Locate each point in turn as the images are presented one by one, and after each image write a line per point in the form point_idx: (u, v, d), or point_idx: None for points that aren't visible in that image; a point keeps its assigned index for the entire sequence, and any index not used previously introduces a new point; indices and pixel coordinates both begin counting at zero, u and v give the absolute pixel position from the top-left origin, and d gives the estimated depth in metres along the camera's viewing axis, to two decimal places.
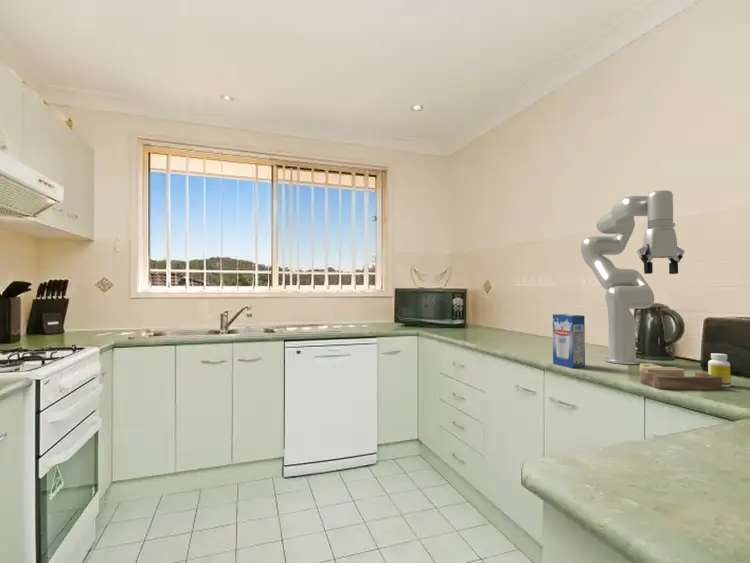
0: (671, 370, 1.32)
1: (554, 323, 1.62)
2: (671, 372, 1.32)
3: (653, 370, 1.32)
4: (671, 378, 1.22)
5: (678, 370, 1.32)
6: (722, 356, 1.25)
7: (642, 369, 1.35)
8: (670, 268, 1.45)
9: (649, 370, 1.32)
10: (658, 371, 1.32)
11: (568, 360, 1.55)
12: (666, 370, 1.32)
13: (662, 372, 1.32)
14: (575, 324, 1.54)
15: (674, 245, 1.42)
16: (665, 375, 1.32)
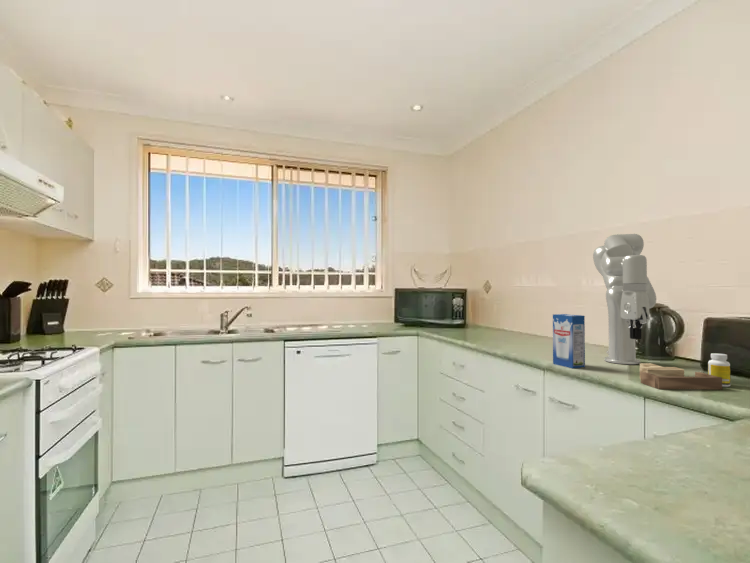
0: (671, 370, 1.32)
1: (554, 323, 1.62)
2: (671, 372, 1.32)
3: (653, 370, 1.32)
4: (671, 378, 1.22)
5: (678, 370, 1.32)
6: (722, 356, 1.25)
7: (642, 369, 1.35)
8: None
9: (649, 370, 1.32)
10: (658, 371, 1.32)
11: (568, 360, 1.55)
12: (666, 370, 1.32)
13: (662, 372, 1.32)
14: (575, 324, 1.54)
15: None
16: (665, 375, 1.32)
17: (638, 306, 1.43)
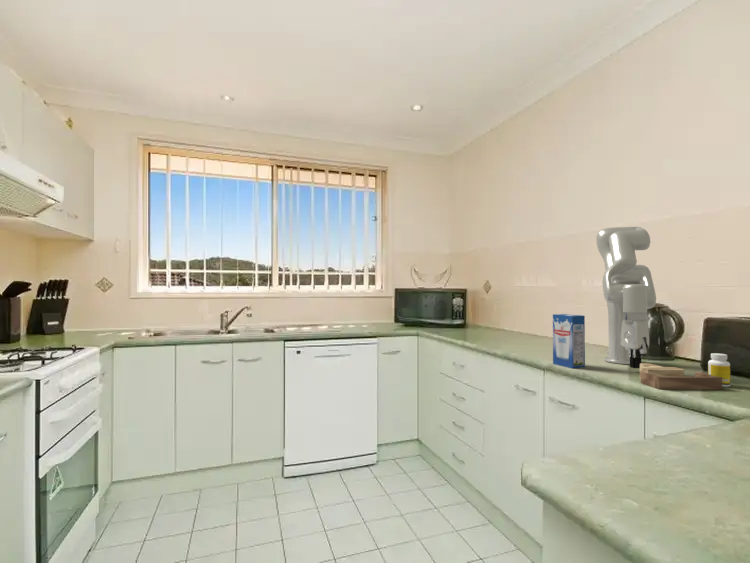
0: (671, 370, 1.32)
1: (554, 323, 1.62)
2: (671, 372, 1.32)
3: (653, 370, 1.32)
4: (671, 378, 1.22)
5: (678, 370, 1.32)
6: (722, 356, 1.25)
7: (642, 369, 1.35)
8: None
9: (649, 370, 1.32)
10: (658, 371, 1.32)
11: (568, 360, 1.55)
12: (666, 370, 1.32)
13: (662, 372, 1.32)
14: (575, 324, 1.54)
15: None
16: (665, 375, 1.32)
17: (638, 336, 1.43)
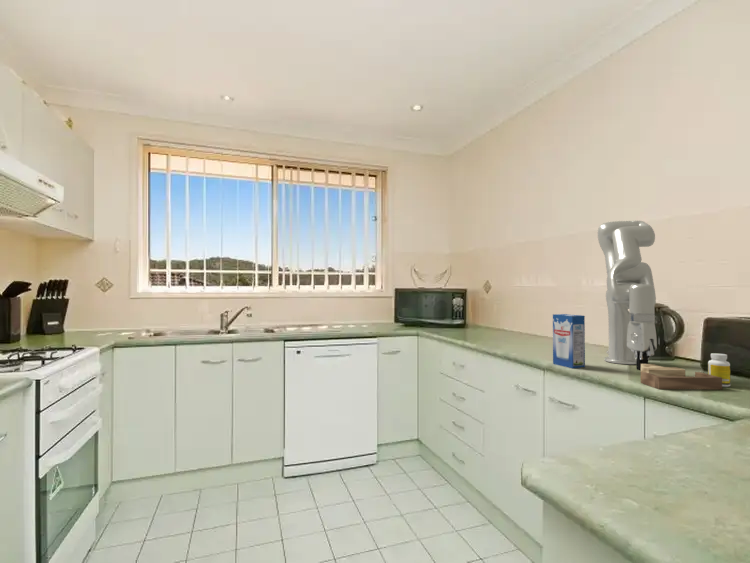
0: (672, 370, 1.32)
1: (554, 323, 1.62)
2: (672, 372, 1.32)
3: (654, 370, 1.32)
4: (671, 378, 1.22)
5: (679, 370, 1.32)
6: (722, 356, 1.25)
7: (643, 369, 1.34)
8: None
9: (650, 370, 1.32)
10: (659, 371, 1.32)
11: (568, 360, 1.55)
12: (667, 370, 1.32)
13: (663, 372, 1.32)
14: (575, 324, 1.54)
15: None
16: (666, 375, 1.32)
17: (645, 338, 1.39)
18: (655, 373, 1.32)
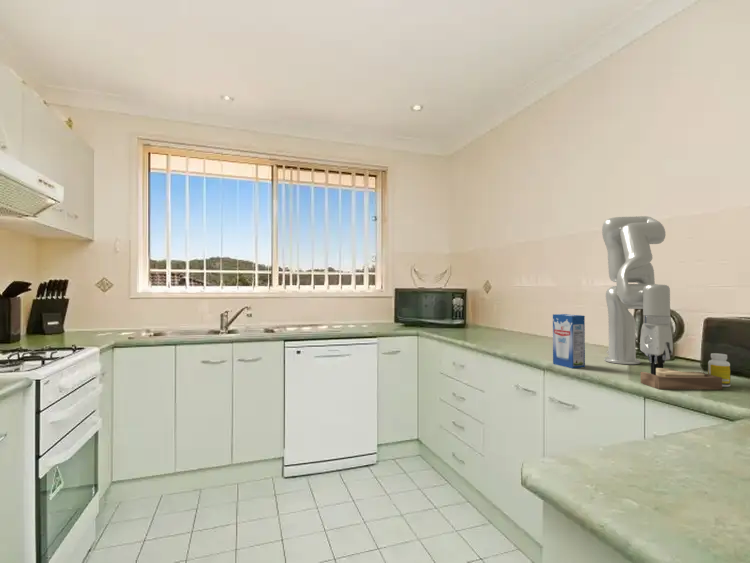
0: (690, 375, 1.24)
1: (554, 323, 1.62)
2: None
3: (671, 375, 1.24)
4: (671, 378, 1.22)
5: (698, 375, 1.24)
6: (722, 356, 1.25)
7: (659, 374, 1.27)
8: None
9: (667, 375, 1.24)
10: (676, 376, 1.24)
11: (568, 360, 1.55)
12: (685, 375, 1.24)
13: None
14: (575, 324, 1.54)
15: None
16: None
17: (661, 341, 1.32)
18: None
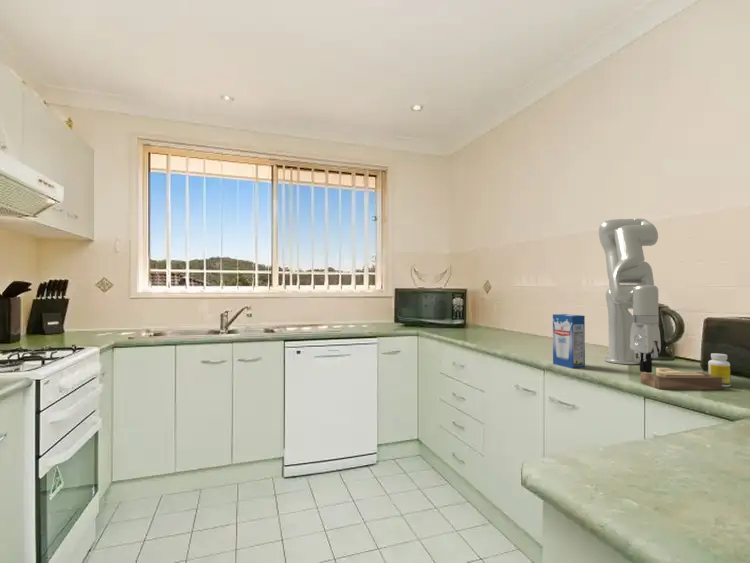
0: (691, 375, 1.24)
1: (554, 323, 1.62)
2: None
3: (671, 375, 1.24)
4: (671, 378, 1.22)
5: (698, 375, 1.24)
6: (722, 356, 1.25)
7: (659, 374, 1.27)
8: None
9: (667, 375, 1.24)
10: (677, 376, 1.24)
11: (568, 360, 1.55)
12: (685, 375, 1.24)
13: None
14: (575, 324, 1.54)
15: None
16: None
17: (649, 340, 1.37)
18: None
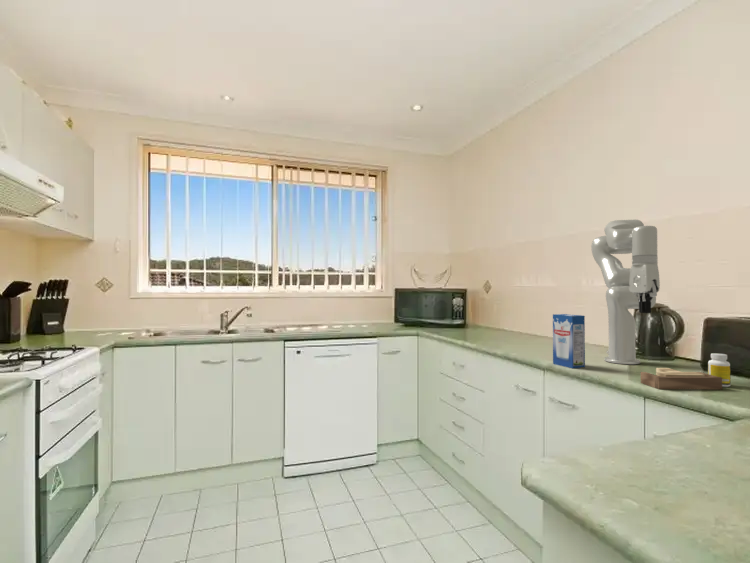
0: (691, 375, 1.24)
1: (554, 323, 1.62)
2: None
3: (671, 375, 1.24)
4: (671, 378, 1.22)
5: (698, 375, 1.24)
6: (722, 356, 1.25)
7: (659, 374, 1.27)
8: None
9: (667, 375, 1.24)
10: (677, 376, 1.24)
11: (568, 360, 1.55)
12: (685, 375, 1.24)
13: None
14: (575, 324, 1.54)
15: None
16: None
17: (648, 278, 1.38)
18: None
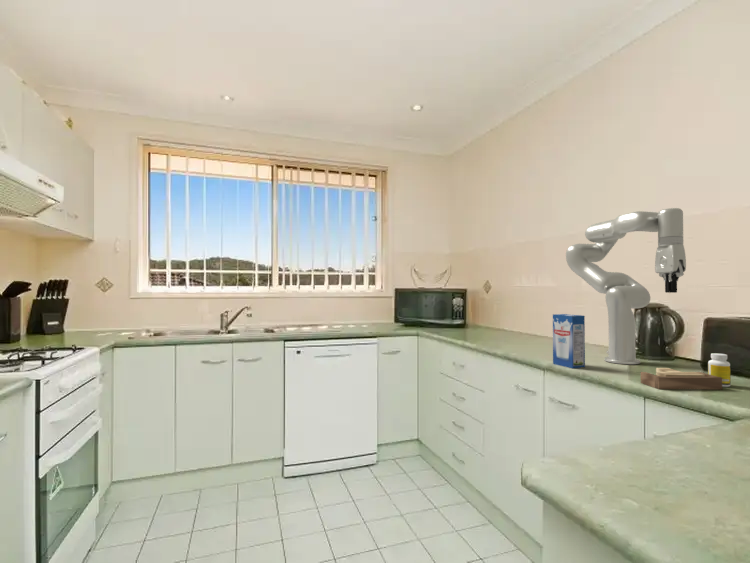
0: (691, 375, 1.24)
1: (554, 323, 1.62)
2: None
3: (671, 375, 1.24)
4: (671, 378, 1.22)
5: (698, 375, 1.24)
6: (722, 356, 1.25)
7: (659, 374, 1.27)
8: None
9: (667, 375, 1.24)
10: (677, 376, 1.24)
11: (568, 360, 1.55)
12: (685, 375, 1.24)
13: None
14: (575, 324, 1.54)
15: None
16: None
17: (675, 259, 1.43)
18: None
